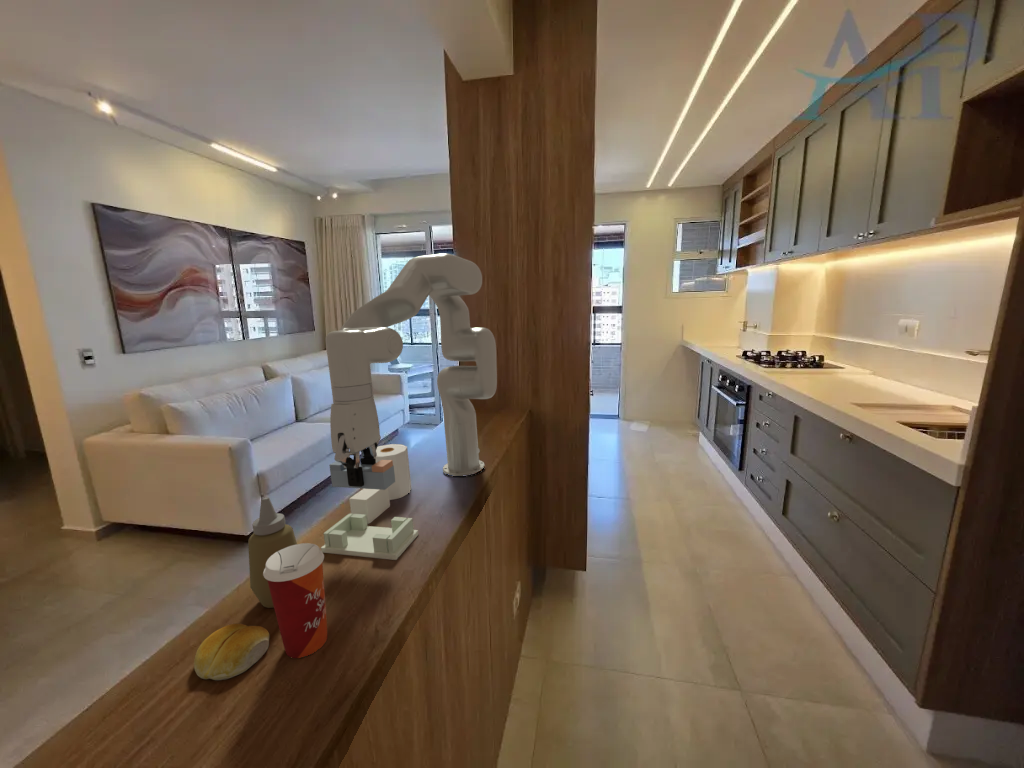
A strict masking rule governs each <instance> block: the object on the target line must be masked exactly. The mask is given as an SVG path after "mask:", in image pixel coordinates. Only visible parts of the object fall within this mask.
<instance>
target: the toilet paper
mask: <svg viewBox="0 0 1024 768" xmlns="http://www.w3.org/2000/svg"><path fill="white" fill-rule="evenodd" d="M376 453H377V456H376V458H375V459H376V463H377V462H379V461H380V460H393V465H394V474H395V482H394V483H393V484H392V485H390V486H389V487H388V492H389V500H390V501H393V500H397V499H401V498H403V497H405V496H407V495H408V493H409V494H410V492H411V491H410V490H412V479H411V470H410V461H409V451H408V446H406V445H404V444H398V443H396V444H395V443H391V444H383V445H379V446H378V447H377V449H376Z"/></svg>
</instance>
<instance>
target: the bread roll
mask: <svg viewBox="0 0 1024 768" xmlns="http://www.w3.org/2000/svg"><path fill="white" fill-rule="evenodd" d="M269 647H270V633H269V631H268V630H267V628H266V627H263V626H260V625H247V624H243V623H230V624H227V625H225V626H223V627H221V628H219V629H217V630H215V631H214V632H212V633H211V634H210V635H208V636H207V637H206V638H205V639H204V640H203V641H202V642H201V644H200V645H199V646H198V648H197V650H196V653H195V656H194V660H193V667H194V668H193V669H194V671H195V674H196V675H197V676H198V677H199V678H200V679H203V680H209V679H210V680H213V681H222V680H224V681H225V680H229V679H231V678H234V677H236V676H239V675H241V674H243V673H245V672H246V671H247V670H248V669H250V668H251V667H252V666H253V665H254V664H256V663H257V662H258V661H259V660H260V659H261V658H262V657H263V655H265V653H267V651H268V649H269Z"/></svg>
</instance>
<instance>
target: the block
mask: <svg viewBox="0 0 1024 768" xmlns="http://www.w3.org/2000/svg"><path fill="white" fill-rule="evenodd" d="M348 501H349V506H350V507H349V508H350V514H364V515H366V518H367V525H369V524H371V523H372V522H373V521H374V520H375V519H377V518H378V517H380V515H381V514H383V513H384V512H385V511H386V510H387V509H388V508H390V507H391V502H390V501H391V500H389V492H388V488H387V489H385V490H380V489H363V488H361V490H359V491H358V492H357V493H354V495H352V496H351V497H350V498H348Z"/></svg>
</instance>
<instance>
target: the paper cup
mask: <svg viewBox="0 0 1024 768" xmlns="http://www.w3.org/2000/svg"><path fill="white" fill-rule="evenodd" d="M324 559H325V554H324V553H323V552H322V551H321V547H320V546H318V545H317V544H315V543H308V542H302V543H297V544H296V545H292V546H289V547H286V548H284V549H282V550H280V551H277V552H276V553H274V554H273V555H272V556H270V557H269V559H268V560H267V562H266V566H265V569H264V572H263V576H264V578H265V579H267V581H268V585H269V589H270V593H271V597H272V601H273V605H274V608H273V609H274V612H275V613H274V614H275V616H276V621H277V626H278V629H279V633H280V637H281V640H282V644H283V648H284V651H285V654H286V655H287V656H288V657H289V658H291V657H292V658H291V659H302V658H301V657H303V658H305V657H304V656H307V657H309V656H311V655H313V654H315V653H317V652H318V651H319V650H320V649H321V648H323V646H324V645H325V643H326V642H327V639H328V620H327V605H326V595H325V594H326V593H325V582H324V581H325V580H324V566H323V562H324ZM318 649H319V650H318ZM317 650H318V651H317ZM314 652H315V653H314ZM312 653H313V654H312ZM310 654H311V655H310ZM308 655H309V656H308Z"/></svg>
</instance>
